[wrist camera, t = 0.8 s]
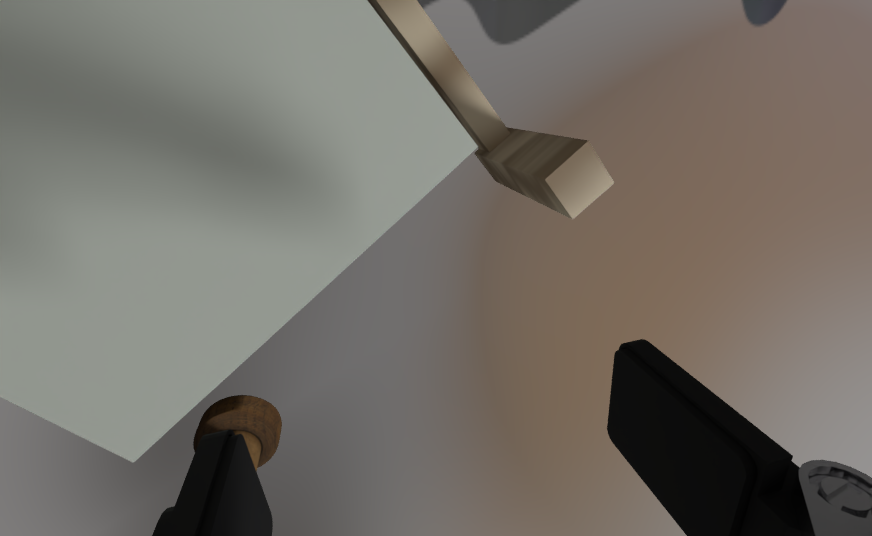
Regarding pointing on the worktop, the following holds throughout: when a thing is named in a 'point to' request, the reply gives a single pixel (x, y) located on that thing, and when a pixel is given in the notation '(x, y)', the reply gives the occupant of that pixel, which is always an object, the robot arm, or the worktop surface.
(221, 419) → the mortar and pestle
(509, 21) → the worktop surface
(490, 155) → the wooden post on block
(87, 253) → the grey block
